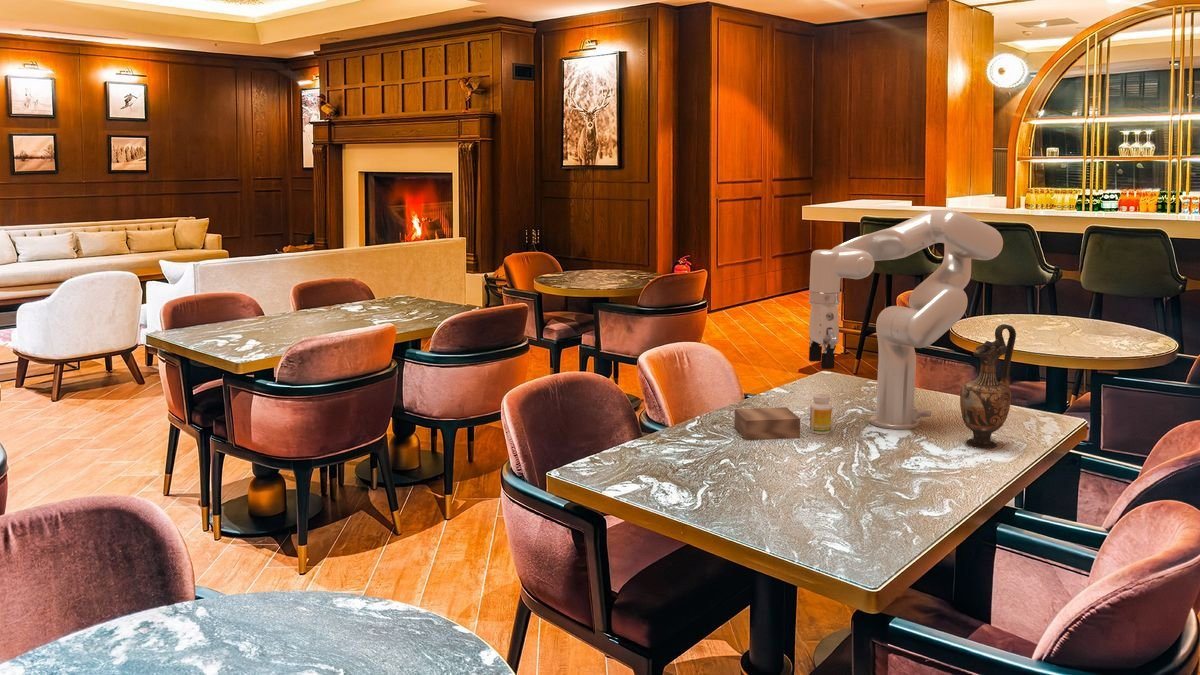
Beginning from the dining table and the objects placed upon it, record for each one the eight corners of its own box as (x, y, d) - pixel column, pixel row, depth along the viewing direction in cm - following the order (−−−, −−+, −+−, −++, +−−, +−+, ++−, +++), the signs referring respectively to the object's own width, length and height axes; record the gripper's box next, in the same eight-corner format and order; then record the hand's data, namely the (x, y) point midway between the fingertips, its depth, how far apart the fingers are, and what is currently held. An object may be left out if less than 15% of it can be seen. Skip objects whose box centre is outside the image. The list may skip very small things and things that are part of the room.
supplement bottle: (805, 430, 248) (806, 394, 247) (821, 428, 251) (822, 392, 249) (818, 435, 244) (819, 399, 242) (835, 433, 246) (836, 396, 244)
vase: (948, 439, 240) (955, 321, 234) (996, 437, 241) (1003, 320, 235) (970, 452, 228) (978, 329, 223) (1020, 450, 229) (1029, 328, 224)
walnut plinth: (786, 425, 253) (786, 407, 252) (799, 437, 242) (800, 418, 241) (734, 427, 252) (734, 409, 251) (745, 439, 240) (746, 420, 239)
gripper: (850, 303, 233) (847, 371, 236) (827, 294, 250) (824, 358, 253) (821, 303, 232) (817, 372, 235) (799, 294, 249) (796, 358, 252)
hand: (821, 364), depth 244 cm, fingers open, 9 cm apart
